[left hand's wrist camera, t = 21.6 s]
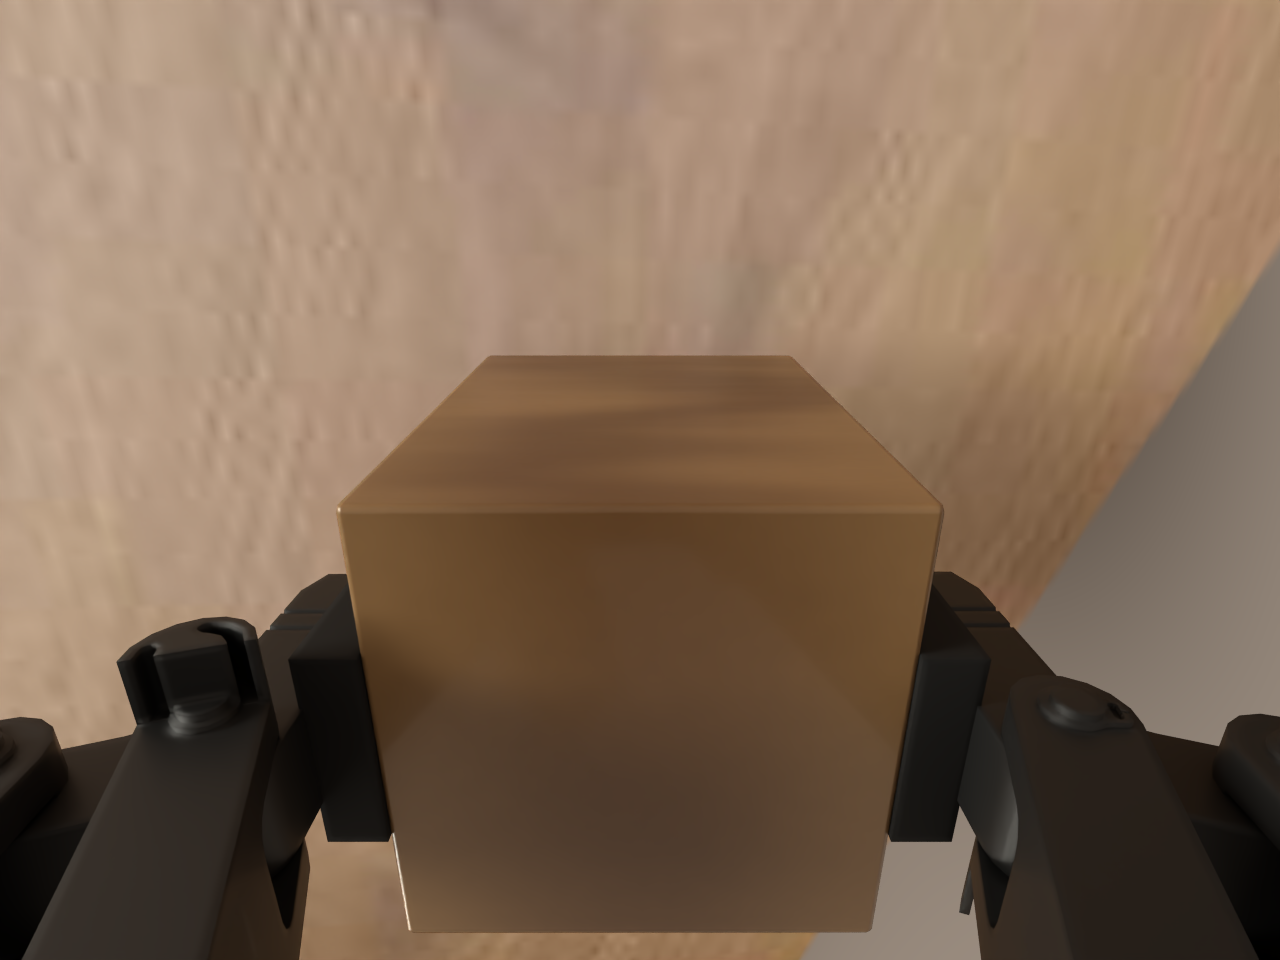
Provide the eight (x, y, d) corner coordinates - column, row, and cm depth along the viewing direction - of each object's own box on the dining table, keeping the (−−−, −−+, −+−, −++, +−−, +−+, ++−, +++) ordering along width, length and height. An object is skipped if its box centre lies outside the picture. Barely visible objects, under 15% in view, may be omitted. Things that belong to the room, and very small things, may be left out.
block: (792, 354, 14) (948, 506, 7) (771, 617, 17) (873, 935, 9) (486, 355, 14) (330, 506, 7) (507, 617, 17) (406, 936, 9)
